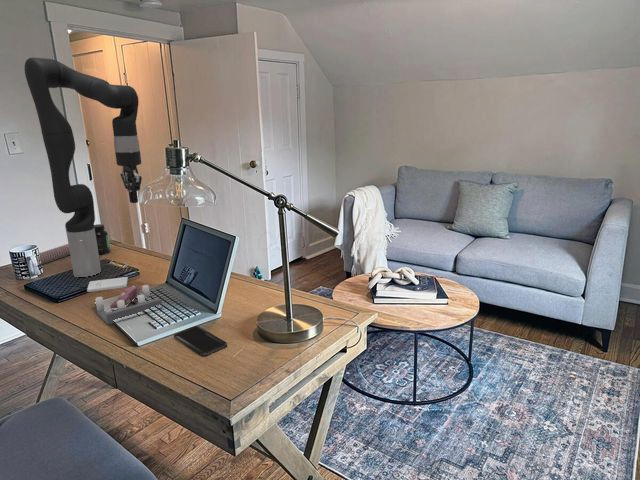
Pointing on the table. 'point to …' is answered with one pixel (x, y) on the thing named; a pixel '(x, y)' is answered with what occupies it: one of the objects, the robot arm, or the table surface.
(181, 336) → the phone
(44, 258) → the pink brown cylinder
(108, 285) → the external hard drive
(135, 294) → the purple rounded block
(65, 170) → the robot arm
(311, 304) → the table surface
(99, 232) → the supplement bottle
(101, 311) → the dock
